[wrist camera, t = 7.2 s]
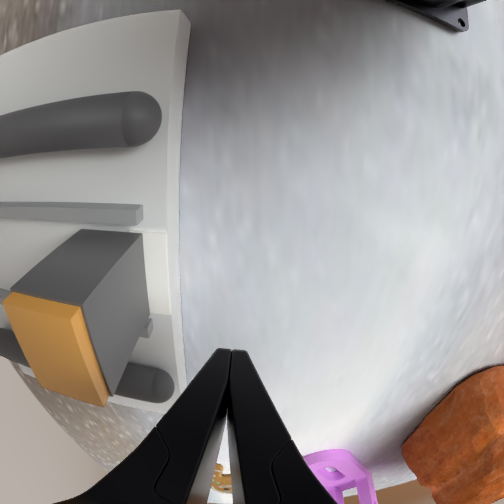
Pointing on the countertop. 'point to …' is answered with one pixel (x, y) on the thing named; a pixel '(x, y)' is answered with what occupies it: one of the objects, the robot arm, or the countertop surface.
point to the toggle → (82, 313)
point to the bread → (463, 443)
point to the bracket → (342, 474)
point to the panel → (99, 171)
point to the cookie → (221, 481)
